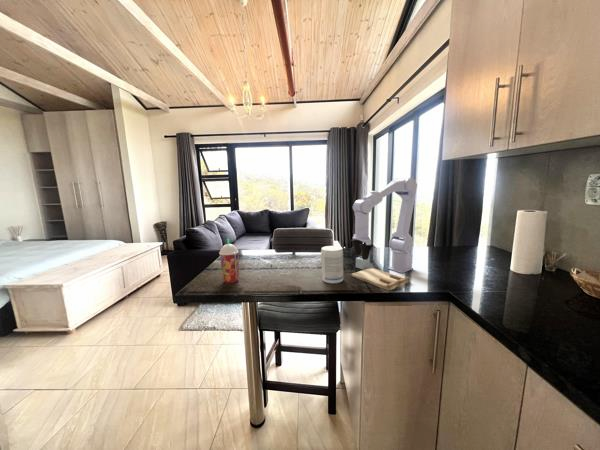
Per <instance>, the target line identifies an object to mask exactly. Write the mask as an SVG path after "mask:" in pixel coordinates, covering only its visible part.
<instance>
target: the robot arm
mask: <svg viewBox="0 0 600 450" xmlns="http://www.w3.org/2000/svg"><path fill="white" fill-rule="evenodd" d="M417 187H418V183H417V182H416V180H415V178H413V177H409V178H395V179H392V180H390V182H389V183H388V184H387V185H386V186H385V185H384V187H382V188H381V189H379V190H371V191H370V193H368V194H367V195H364V196H362V198H361V199H357V200H355V201H354V203H353V205H352V206H351V207H352V210H353V212H354V216H355V217H354V218H355V220H354V222H355V223H354V227H355V228H354V230H355V231H354V234H353V236H352V239H351V242H352V245H353V249H354V253H355V256H362V259H363V260H368V258H369V256H370V253H371V250H372V248H373V247H374V243H372V239H370V236H369V234H370V233H369V231H370V230H369V229H370V228H369V227H370V225H369V224H370V223H369V222H370V218H369V217H370V216H369V215H370V213H371V212H372V210H373V208H374V207H376V206H377V205H379V204H380V203H382V201H383V198H384V197H387V196H389V195H390V194H392V193H395V194H396V195H397V196H399V197H400V198H401V204H400V209H399V216H398V220H397V221H398V222H397V226H396V227H397V228H396V231H395V232H394V233H392V234H391V238H390V239H389V242H388V247H389V248H390V250H391V252H392V253H391V266H388V267H387V269H388V270H391V271H394V272H398V273H400V274H403V273H406V272H409V271H411V270H414V268H413V267H412V263H413V256H412V255H413V254H412V253H411V252H412V250H413V245H414V243H413V238H414V237H412V236H411V234H410V226H411V221H412V217H413V210H414V206H415V201H416V193H417V189H418V188H417Z"/></svg>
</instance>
